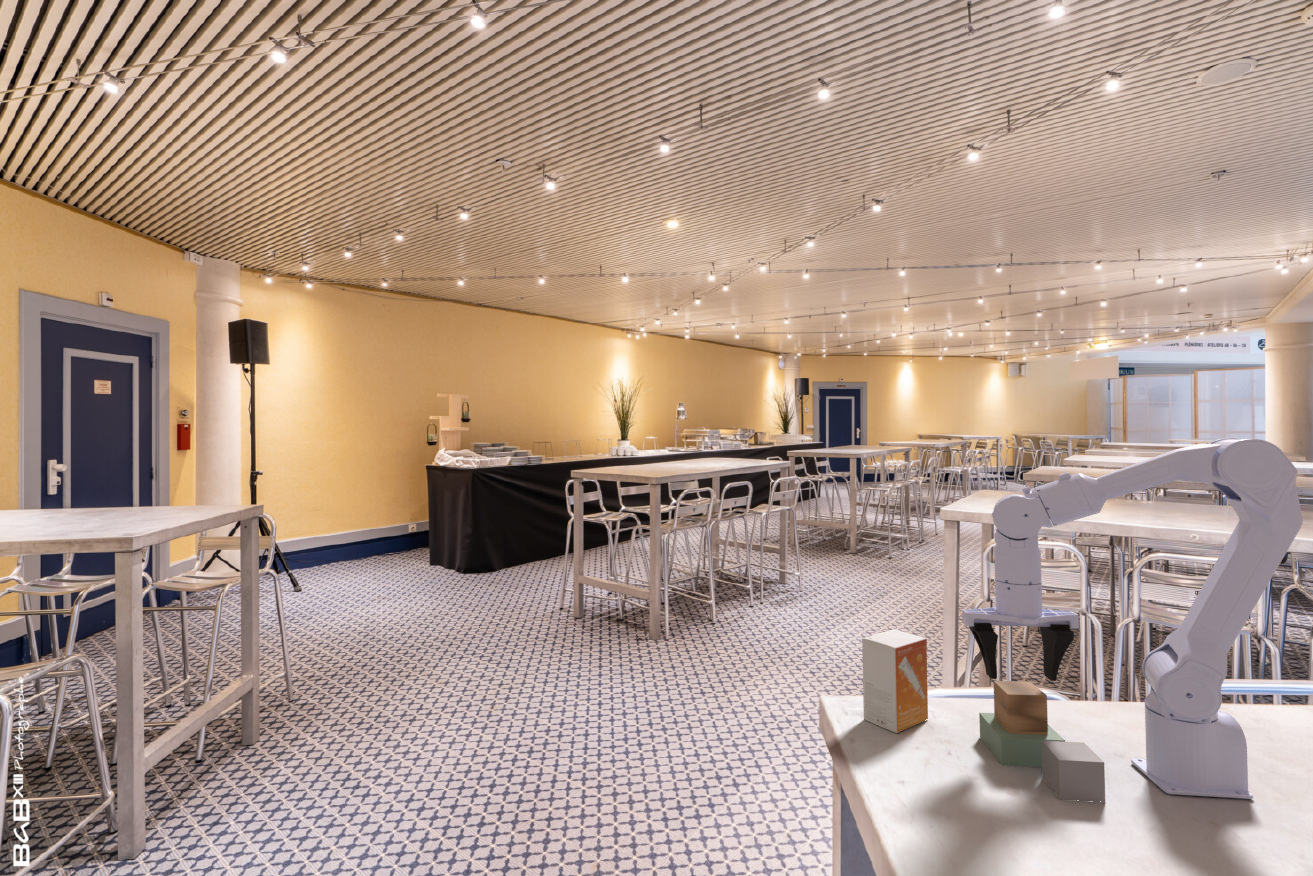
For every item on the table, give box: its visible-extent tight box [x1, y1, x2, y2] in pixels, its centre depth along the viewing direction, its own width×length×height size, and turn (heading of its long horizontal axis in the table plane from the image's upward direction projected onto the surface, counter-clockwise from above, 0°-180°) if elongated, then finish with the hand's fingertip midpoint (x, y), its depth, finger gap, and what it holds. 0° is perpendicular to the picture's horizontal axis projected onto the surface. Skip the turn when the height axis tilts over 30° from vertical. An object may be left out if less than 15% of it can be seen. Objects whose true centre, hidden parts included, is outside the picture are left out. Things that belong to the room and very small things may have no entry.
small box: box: [861, 628, 929, 734], centre depth 100 cm, size 8×6×13 cm
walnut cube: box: [993, 680, 1049, 732], centre depth 89 cm, size 5×5×5 cm
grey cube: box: [1041, 741, 1106, 803], centre depth 80 cm, size 5×5×5 cm
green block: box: [978, 712, 1066, 768], centre depth 89 cm, size 8×8×4 cm
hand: (1020, 677), depth 89 cm, fingers open, 7 cm apart
